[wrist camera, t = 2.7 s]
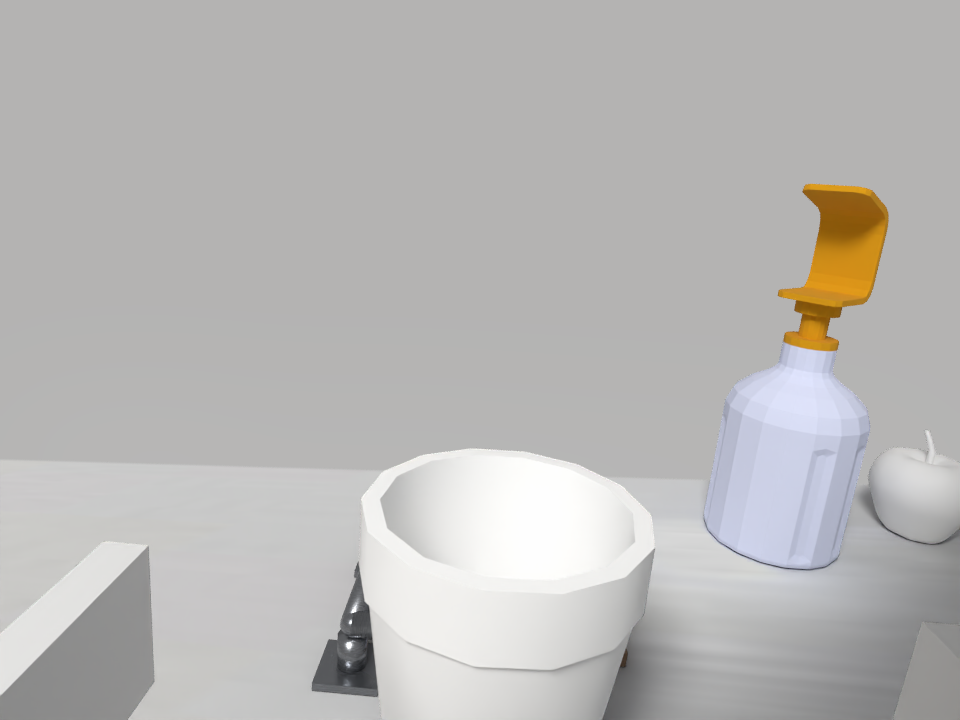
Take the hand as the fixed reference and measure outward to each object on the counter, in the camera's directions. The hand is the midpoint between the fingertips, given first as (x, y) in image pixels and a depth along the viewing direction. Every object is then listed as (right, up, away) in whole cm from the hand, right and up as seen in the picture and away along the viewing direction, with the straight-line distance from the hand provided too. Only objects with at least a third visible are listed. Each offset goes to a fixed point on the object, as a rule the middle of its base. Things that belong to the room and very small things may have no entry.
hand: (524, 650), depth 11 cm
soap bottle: (+20, -8, +37) cm, 42 cm away
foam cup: (-1, -12, +14) cm, 19 cm away
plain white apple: (+32, -8, +39) cm, 51 cm away
